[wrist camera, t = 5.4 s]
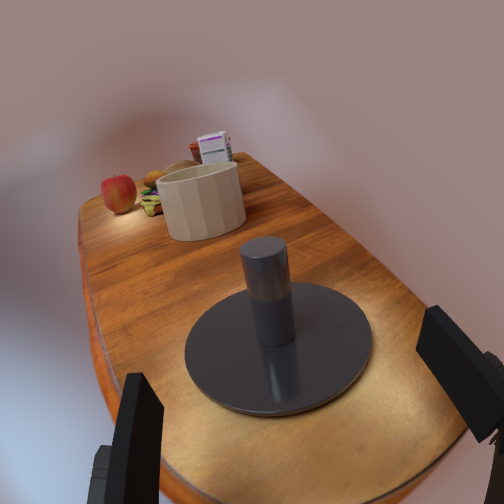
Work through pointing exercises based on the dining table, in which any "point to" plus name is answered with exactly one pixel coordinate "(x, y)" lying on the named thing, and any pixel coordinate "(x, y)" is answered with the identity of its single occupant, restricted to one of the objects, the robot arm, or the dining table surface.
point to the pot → (202, 201)
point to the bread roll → (180, 166)
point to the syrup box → (215, 147)
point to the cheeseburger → (152, 194)
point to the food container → (196, 152)
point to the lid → (277, 340)
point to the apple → (119, 193)
